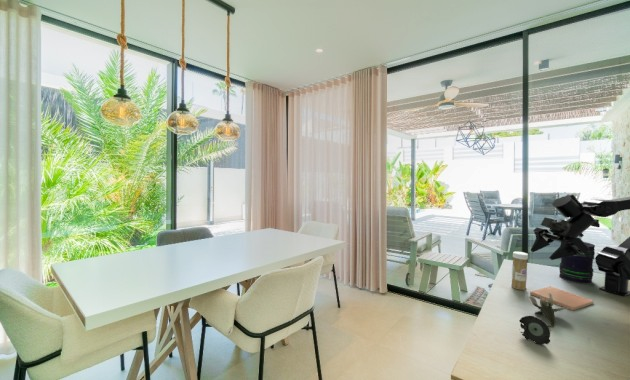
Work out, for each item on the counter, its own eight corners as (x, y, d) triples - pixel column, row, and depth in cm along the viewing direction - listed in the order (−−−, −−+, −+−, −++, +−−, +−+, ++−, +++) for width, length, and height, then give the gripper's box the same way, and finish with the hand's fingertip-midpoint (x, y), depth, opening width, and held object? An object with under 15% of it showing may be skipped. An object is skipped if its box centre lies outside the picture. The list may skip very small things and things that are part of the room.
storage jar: (557, 278, 109) (559, 242, 108) (560, 272, 116) (562, 238, 115) (592, 286, 102) (595, 247, 101) (593, 279, 108) (595, 243, 107)
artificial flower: (510, 339, 71) (503, 299, 74) (542, 323, 84) (534, 290, 86) (552, 347, 64) (542, 303, 66) (580, 329, 76) (570, 292, 79)
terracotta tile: (550, 288, 99) (550, 286, 99) (593, 303, 88) (593, 300, 88) (530, 294, 95) (530, 291, 95) (572, 310, 84) (573, 307, 83)
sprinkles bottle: (520, 291, 97) (522, 255, 96) (508, 286, 102) (509, 251, 101) (529, 289, 99) (531, 254, 98) (516, 284, 103) (518, 250, 102)
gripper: (539, 207, 106) (509, 233, 108) (582, 214, 88) (544, 246, 89) (559, 227, 106) (528, 253, 108) (606, 238, 88) (568, 270, 89)
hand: (540, 254), depth 99 cm, fingers open, 9 cm apart
